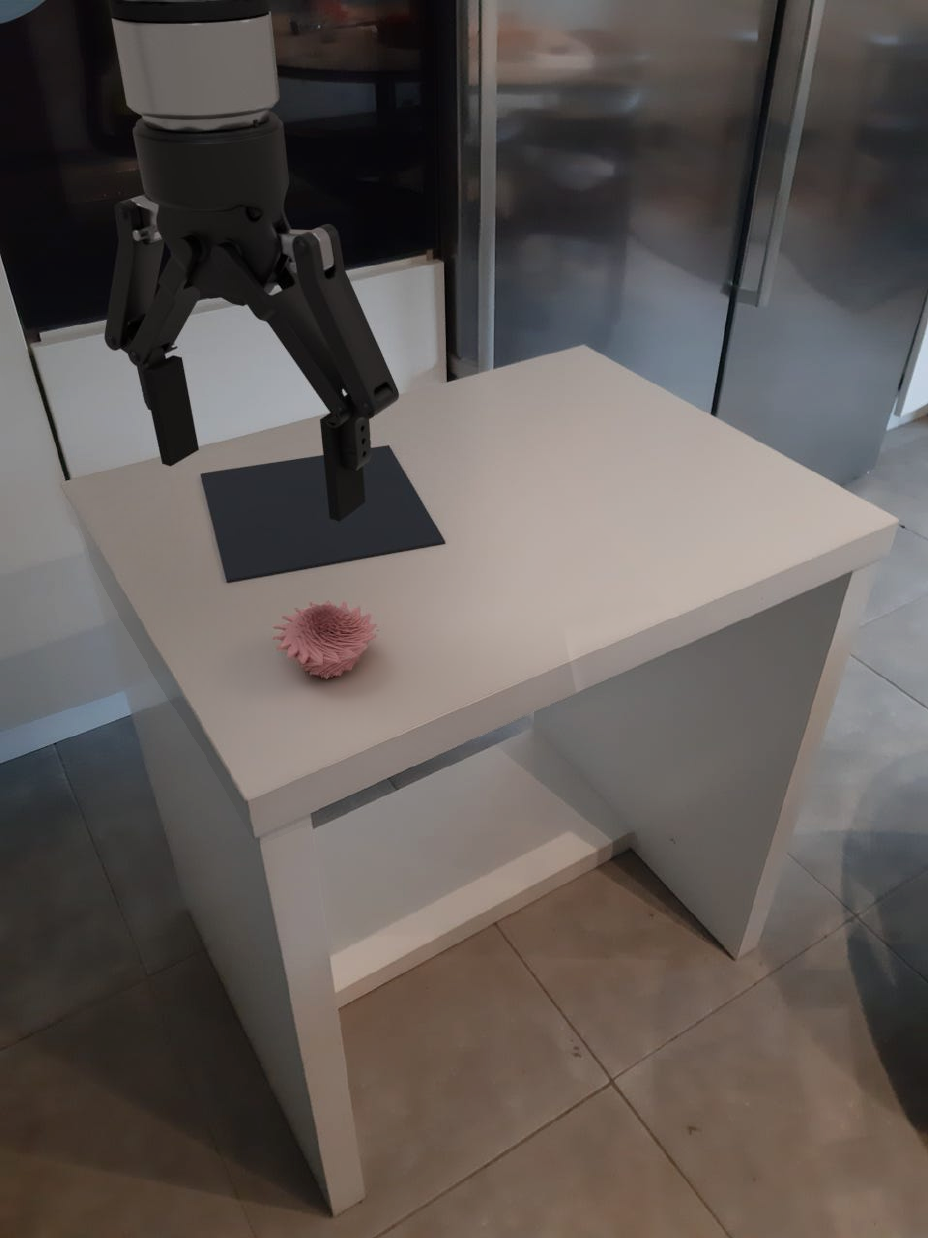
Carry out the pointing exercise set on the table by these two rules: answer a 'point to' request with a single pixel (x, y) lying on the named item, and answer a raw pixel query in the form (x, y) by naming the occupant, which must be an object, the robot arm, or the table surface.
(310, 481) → the mat
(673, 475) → the table surface
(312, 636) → the flower
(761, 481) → the table surface
